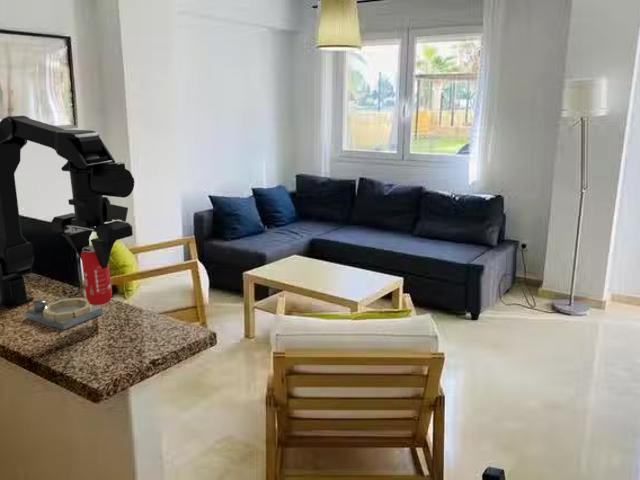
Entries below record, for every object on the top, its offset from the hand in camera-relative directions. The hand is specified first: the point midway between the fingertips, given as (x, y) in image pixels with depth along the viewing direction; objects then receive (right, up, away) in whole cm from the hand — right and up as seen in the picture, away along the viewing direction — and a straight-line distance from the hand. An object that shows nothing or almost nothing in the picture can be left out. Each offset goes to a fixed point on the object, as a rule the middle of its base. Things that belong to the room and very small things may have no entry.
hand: (95, 265), depth 121 cm
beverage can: (0, -8, +2) cm, 8 cm away
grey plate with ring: (-9, -11, +6) cm, 16 cm away
